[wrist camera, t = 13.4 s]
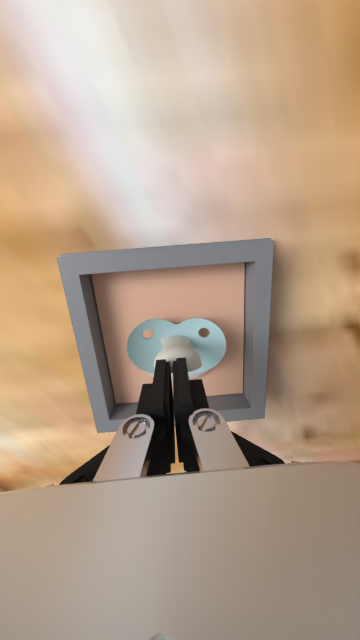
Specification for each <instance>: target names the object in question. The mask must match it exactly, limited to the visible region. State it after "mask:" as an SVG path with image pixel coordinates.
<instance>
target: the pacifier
mask: <svg viewBox="0 0 360 640" xmlns="http://www.w3.org/2000/svg"><path fill="white" fill-rule="evenodd" d="M201 328H206V329H208V330H209V332H210V333H209V335H208V336H206V337H203V336H200V335H199V333H198V332H199V330H200V329H201ZM149 329H150V330H152V331H153V332H154V335H153V337H151V338H145V337H144V336H143V332H144V331H145V330H149ZM225 351H226V339H225V336H224V334H223V332H222V331H221V329H220V328H219V327H218V326H217V325H216V324H215V323H213V322H212V321H210V320H207V319H204V318H190V319H187V320H184V321H183V322H181V323H179V324H174V323H172V322H170V321H168V320H165V319H158V318H157V319H149V320H146V321H144V322H142V323H140V324H139V325H138V326H136V327H135V328H134V330H133V331H132V332H131V334H130V336H129V338H128V341H127V353H128V356H129V358H130V360H131V361H132V362H133V363H134V365H135V366H137V367H138V368H139V369H141V370H143V371H145V372H146V373H147V374H149V375H150V376H152V377H154V371H155V364H156V360H161V359H166V362H167V361H170V369H171V380H172V381H173V361H176V358H184V357H186V363H187V370H188V377H189V380H191V379H195V378H197V377H199V376H201V375H204V374H205V373H206V372H207V371H209V370H210V369H211V368H213V367H215V366H216V365H217V364H218V363H219V362H220V361H221V359H222V358H223V356H224V354H225Z"/></svg>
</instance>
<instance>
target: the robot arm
mask: <svg viewBox="0 0 360 640" xmlns="http://www.w3.org/2000/svg"><path fill="white" fill-rule="evenodd" d="M174 417H175V427H176V437H177V447H178V458H179V463H180V462H183V463H184V470H185V471H187V472H184V473H174V474H166V473H170V472H171V463H175V432H174ZM0 640H360V463H352V462H336V461H322V462H295V461H291V463H287V464H285V462H284V461H283V460H281V459H280V458H278V457H277V456H275V455H273V454H271V453H270V452H268V451H266V450H264V449H262V448H261V447H259V446H257V445H255V444H253V443H252V442H250V441H248V440H246V439H244V438H242V437H241V436H239V435H237V434H235V433H233V432H232V431H230V429H229V427H228V425H227V424H226V422H225V420H224V418H223V416H222V415H221V414H220V413H219V412H217V411H215V410H213V409H209V405H208V401H207V397H206V393H205V389H204V385H203V381H202V379H195V380H189V377H188V370H187V363H186V357H184V358H176V361H173V390H172V380H171V369H170V361H167V362H166V359H161V360H156V364H155V371H154V378H153V383H150V384H143V385H142V389H141V393H140V397H139V402H138V406H137V411H136V415H134V416H131V417H129V418H127V419H126V420H124V421H123V422H122V423H121V425H120V426H119V428H118V430H117V432H116V434H115V436H114V439H113V441H112V443H111V445H109V446H108V447H107V448H105V449H104V450H103V451H101V452H100V453H98V454H97V455H96V456H94V457H93V458H92V459H90V460H89V461H88V462H86V463H85V464H84V465H82V466H81V467H80V468H78V469H77V470H75V471H74V472H73V473H71V474H70V475H69V476H67V477H66V478H65V479H64V480H63V481H62V482H61V483H60V484H59V485H55V486H54V484H51V485H48V486H45V487H37V488H29V489H22V490H15V491H8V492H1V493H0Z"/></svg>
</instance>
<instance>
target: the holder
mask: <svg viewBox="0 0 360 640" xmlns="http://www.w3.org/2000/svg"><path fill="white" fill-rule="evenodd" d="M273 248H274V241H271V238H266V239H253V240H240V241H227V242H213V243H200V244H187V245H174V246H161V247H148V248H135V249H122V250H109V251H96V252H83V253H69V254H60V256H61V257H59V258H57V262H58V266H59V270H60V275H61V279H62V283H63V287H64V292H65V296H66V300H67V305H68V309H69V313H70V317H71V322H72V326H73V330H74V334H75V339H76V343H77V347H78V352H79V356H80V360H81V364H82V369H83V373H84V377H85V382H86V386H87V390H88V394H89V399H90V403H91V407H92V411H93V416H94V420H95V424H96V429H97V433H104V432H115V431H117V430H118V428H119V426H120V425H121V423H122V422H123V421H124V420H126V419H127V418H129V417H131V416H134V415H136V411H137V406H138V402H139V397H140V393H141V389H142V385H143V384H150V383H153V378H154V377H152V376H150V375H149V374H147V373H146V372H145V371H143V370H141V369H139V368H138V367H137V366H135V365H134V363H133V362H132V361H131V360H130V358H129V356H128V353H127V341H128V338H129V336H130V334H131V332H132V331H133V330H134V328H135V327H136V326H138V325H139V324H140V323H142V322H144V321H146V320H149V319H157V318H158V319H165V320H168V321H170V322H172V323H174V324H179V323H181V322H183V321H184V320H187V319H190V318H204V319H207V320H210V321H212V322H213V323H215V324H216V325H217V326H218V327H219V328H220V329H221V331H222V332H223V334H224V336H225V339H226V351H225V354H224V356H223V358H222V359H221V361H220V362H219V363H218V364H217V365H216V366H215V367H213V368H211V369H210V370H209V371H207V372H206V373H205V374H204V375H201V376H199V377H197V378H195V379H202V381H203V385H204V389H205V393H206V397H207V401H208V405H209V409H213V410H215V411H217V412H219V413H220V414H221V415H222V416H223V418H224V420H225V422H228V421H239V420H251V419H262V418H265V402H266V383H267V363H268V344H269V325H270V306H271V287H272V267H273ZM198 333H199V335H200V336H203V337H206V336H208V335H209V333H210V332H209V330H208V329H206V328H201V329H200V330H199V332H198ZM153 335H154V332H153V331H152V330H150V329H149V330H145V331H144V332H143V336H144V337H145V338H151V337H153ZM195 379H191V380H195ZM172 390H173V381H172ZM174 426H175V417H174Z"/></svg>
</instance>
